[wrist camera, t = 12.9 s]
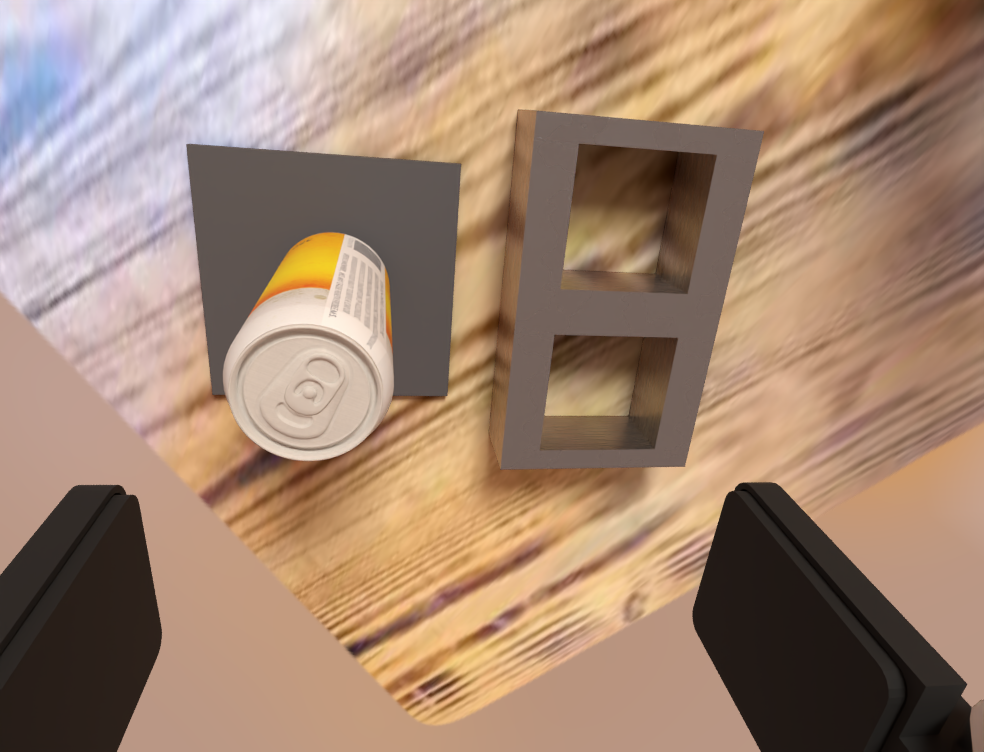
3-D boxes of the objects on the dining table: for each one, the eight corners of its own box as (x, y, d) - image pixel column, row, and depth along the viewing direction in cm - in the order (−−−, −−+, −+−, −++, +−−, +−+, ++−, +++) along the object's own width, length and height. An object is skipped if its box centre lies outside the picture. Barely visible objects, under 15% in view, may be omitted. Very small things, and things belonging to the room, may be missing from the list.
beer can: (259, 298, 35) (183, 423, 21) (314, 207, 34) (269, 280, 20) (354, 351, 37) (338, 495, 24) (409, 268, 36) (426, 372, 22)
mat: (189, 143, 32) (186, 144, 31) (459, 163, 34) (460, 164, 34) (214, 391, 37) (212, 394, 37) (446, 392, 40) (447, 396, 39)
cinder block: (518, 109, 34) (536, 110, 30) (720, 127, 36) (764, 131, 32) (488, 433, 42) (500, 469, 37) (656, 432, 44) (684, 466, 40)
